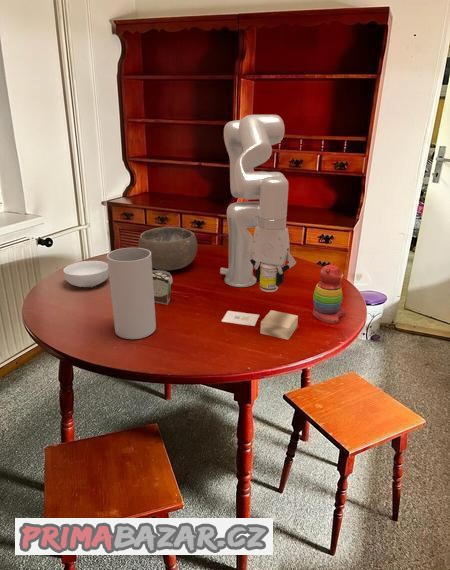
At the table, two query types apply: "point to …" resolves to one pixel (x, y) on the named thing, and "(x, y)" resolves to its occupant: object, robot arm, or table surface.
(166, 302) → the food container
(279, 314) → the pedestal
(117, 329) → the cylinder vase
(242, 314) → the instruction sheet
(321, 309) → the stacking bear
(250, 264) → the robot arm
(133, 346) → the table surface
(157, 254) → the bowl
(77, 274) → the cereal bowl
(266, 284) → the supplement bottle
